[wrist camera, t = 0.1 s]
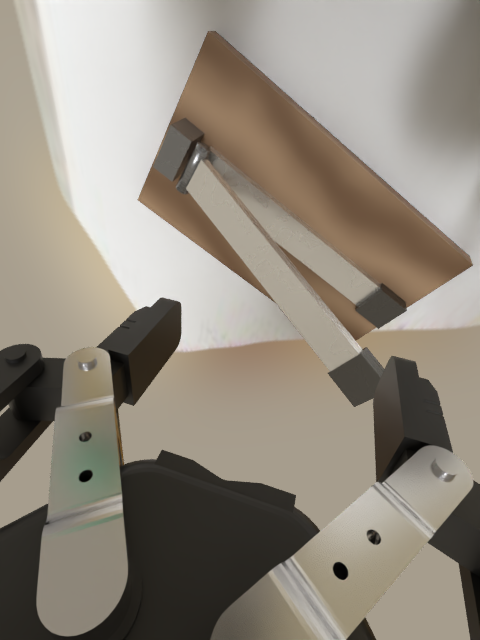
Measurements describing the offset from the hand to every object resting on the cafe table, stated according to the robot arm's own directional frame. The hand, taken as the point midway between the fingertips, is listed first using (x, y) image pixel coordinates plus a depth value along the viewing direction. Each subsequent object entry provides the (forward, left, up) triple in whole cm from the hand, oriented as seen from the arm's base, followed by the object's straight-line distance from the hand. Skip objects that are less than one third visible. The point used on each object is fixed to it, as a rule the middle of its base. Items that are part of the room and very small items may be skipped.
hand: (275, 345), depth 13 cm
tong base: (+6, +1, -21) cm, 22 cm away
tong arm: (+6, +1, -14) cm, 16 cm away
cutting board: (+6, 0, -23) cm, 23 cm away
